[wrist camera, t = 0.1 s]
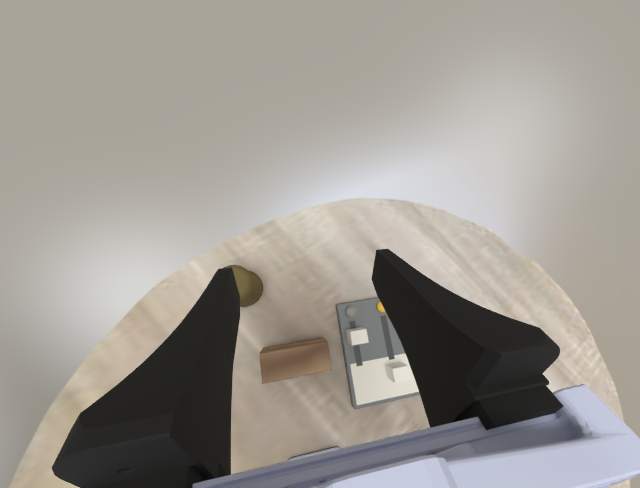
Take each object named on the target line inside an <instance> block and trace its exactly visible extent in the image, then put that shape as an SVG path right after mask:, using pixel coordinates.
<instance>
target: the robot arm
mask: <svg viewBox="0 0 640 488" xmlns="http://www.w3.org/2000/svg"><path fill="white" fill-rule="evenodd" d="M372 281H373V284H374V287H375V290H376V293H377V295H378V298H379V300H380V302H381V304H382V306H383V308H384V309H385V311H386V313H387V315H388V317H389V319H390V321H391V323H392V325H393V327H394V329H395V331H396V333H397V335H398V337H399V339H400V341H401V344H402V346H403V349H404V351H405V354H406V356H407V359H408V362H409V364H410V367H411V370H412V373H413V375H414V378H415V381H416V384H417V387H418V390H419V393H420V396H421V399H422V402H423V405H424V408H425V412H426V415H427V418H428V421H429V425H430V428H427V429H423V430H419V431H414V432H410V433H406V434H402V435H397V436H393V437H389V438H385V439H380V440H376V441H372V442H368V443H363V444H359V445H355V446H351V447H346V448H342V449H340V448H339V447H334V448H330V449H326V450H322V451H318V452H314V453H310V454H306V455H302V456H297V457H293V458H290V459H289V460H288V461H287V462H283V463H279V464H274V465H270V466H266V467H262V468H257V469H253V470H249V471H245V472H240V473H236V474H232V475H231V397H232V372H233V361H234V354H235V347H236V340H237V333H238V326H239V319H240V295H239V291H238V287H237V284H236V280H235V276H234V273H233V269H232V267H231V268H223V269H218V270H217V272H216V273H215V275H214V277H213V278H212V280H211V281H210V283H209V285H208V286H207V288H206V289H205V291H204V292H203V294H202V295H201V297H200V298H199V299H198V301H197V302H196V304H195V305H194V307H193V308H192V309H191V310H190V312H189V313H188V314H187V316H186V317H185V318H184V319H183V321H182V322H181V323H180V324H179V326H178V327H177V328H176V329H175V330H174V331H173V332H172V334H171V335H170V336H169V337H168V338H167V339H166V340H165V341H164V342H163V343H162V344H161V345H160V346H159V347H158V348H157V349H156V350H155V351H154V352H153V353H152V354H151V355H150V356H149V357H148V358H147V359H146V360H145V361H144V362H143V363H142V364H141V365H140V366H139V367H137V368H136V369H135V370H134V371H133V372H132V373H131V374H129V375H128V376H127V377H126V378H125V379H124V380H122V381H121V382H120V383H119V384H118V385H116V386H115V387H114V388H113V389H111V390H110V391H109V392H108V393H106V394H105V395H104V396H102V397H101V398H100V399H98V400H97V401H96V402H95V403H93V404H92V405H91V406H89V407H88V408H87V409H85V410H84V411H83V412H81V413H80V415H79V416H78V418H77V420H76V422H75V423H74V425H73V427H72V429H71V431H70V433H69V435H68V437H67V439H66V441H65V443H64V445H63V447H62V449H61V451H60V453H59V454H58V456H57V458H56V460H55V462H54V464H53V466H52V470H53V472H54V474H55V476H57V477H58V478H60V479H62V480H64V481H66V482H69V483H71V484H73V485H75V486H78V487H80V488H605V487H609V486H612V485H614V484H617V483H620V482H622V481H625V480H628V479H630V478H633V477H635V476H638V475H640V438H639V437H638V436H637V435H636V434H635V433H634V432H633V431H632V430H631V429H630V428H629V427H628V426H627V425H626V424H625V423H624V422H623V421H622V420H621V419H620V418H619V417H618V416H617V415H616V414H615V413H614V412H613V411H612V410H611V409H610V408H609V407H608V406H607V405H606V404H605V403H604V402H603V401H602V400H601V399H600V398H599V397H598V396H597V395H596V394H595V393H594V392H593V391H592V390H591V389H590V388H589V387H588V386H587V385H584V384H581V385H577V386H572V387H568V388H564V389H560V390H558V391H555V392H553V393H552V392H551V391H550V390H549V389H548V387H547V386H546V385H548V384H549V381H548V380H547V378H546V377H545V376H544V375H543V374H542V373H543V372H544V371H545V370H546V369H547V368H548V367H549V366H550V365H551V364H552V363H553V362H554V361H555V360H556V359H557V358H558V356H559V354H560V348H559V346H558V345H557V344H556V343H555V342H554V341H553V340H552V339H551V338H550V337H549V336H547V335H546V334H545V333H544V332H543V331H542V330H541V329H540V328H538V327H535V326H532V325H529V324H526V323H523V322H520V321H517V320H514V319H511V318H508V317H506V316H503V315H501V314H498V313H496V312H493V311H491V310H488V309H486V308H483V307H481V306H479V305H477V304H475V303H472V302H470V301H468V300H466V299H464V298H462V297H460V296H458V295H456V294H454V293H453V292H451V291H449V290H447V289H445V288H444V287H442V286H440V285H439V284H437V283H435V282H434V281H432V280H431V279H429V278H428V277H426V276H425V275H423V274H422V273H420V272H419V271H417V270H416V269H415V268H413V267H412V266H410V265H409V264H408V263H406V262H405V261H404V260H402V259H401V258H400V257H398V256H397V255H396V254H394V253H393V252H391V251H390V250H389V249H382V250H376V256H375V262H374V268H373V274H372Z"/></svg>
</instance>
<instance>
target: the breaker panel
mask: <svg viewBox="0 0 640 488" xmlns="http://www.w3.org/2000/svg"><path fill="white" fill-rule="evenodd" d="M336 309H337V315H338V322H339V328H340V334H341V340H342V346H343V352H344V359H345V365H346V371H347V377H348V383H349V390H350V396H351V402H352V406H353V408H354V409H359V408H363V407H367V406H372V405H376V404H381V403H385V402H390V401H394V400H398V399H403V398H407V397H412V396H416V395H420V393H419V390H418V387H417V384H416V381H415V378H414V375H413V373H412V370H411V367H410V364H409V362H408V359H407V356H406V354H405V351H404V349H403V346H402V344H401V341H400V339H399V337H398V335H397V333H396V331H395V329H394V327H393V325H392V323H391V321H390V319H389V317H388V315H387V313H386V311H385V309H384V308H383V306H382V304H381V302H380V300H379V298H374V299H368V300H361V301H355V302H349V303H343V304H337V305H336ZM396 362H403V363H404V364H406V365H408V366H409V370H410V375H411V380H408V381H403V382H399V383H394V382H393V381H392V380H390V379H389V378H388V374H387V368H386V364H391V363H396Z"/></svg>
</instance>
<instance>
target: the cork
mask: <svg viewBox="0 0 640 488" xmlns="http://www.w3.org/2000/svg"><path fill="white" fill-rule="evenodd" d="M231 267H232V269H233V273H234V276H235V280H236V284H237V287H238V291H239V295H240V306H241V307H247V306H250V305H253V304H254V303H256V302H257V301H258V300H259V298H260V297H261V295H262V292H263V284H262V281H261V279H260V278H259V276H258V275H257V274H255V273H253V272H250V271H248V270H246V269H245V268H243V267H241V266H237V265H230V266H227V267H224V268H231ZM222 269H223V268H222Z"/></svg>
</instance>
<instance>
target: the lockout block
mask: <svg viewBox="0 0 640 488" xmlns="http://www.w3.org/2000/svg"><path fill="white" fill-rule="evenodd" d="M260 364H261V374H262V384H265V383H270V382H275V381H280V380H285V379H290V378H295V377H300V376H305V375H310V374H315V373H320V372H325V371H331V363H330V356H329V349H328V343H327V341H326V340H325V339H324V338H318V339H313V340H307V341H302V342H296V343H290V344H285V345H279V346H273V347H268V348H263V349H262V351H261V352H260Z"/></svg>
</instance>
